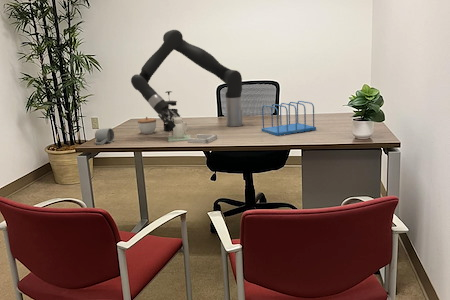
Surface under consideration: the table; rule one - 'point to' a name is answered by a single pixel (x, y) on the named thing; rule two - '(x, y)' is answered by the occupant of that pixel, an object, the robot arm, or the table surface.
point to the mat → (171, 139)
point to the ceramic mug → (104, 136)
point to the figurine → (179, 128)
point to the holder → (205, 137)
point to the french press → (172, 103)
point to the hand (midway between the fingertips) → (178, 125)
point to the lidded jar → (147, 125)
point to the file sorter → (289, 127)
